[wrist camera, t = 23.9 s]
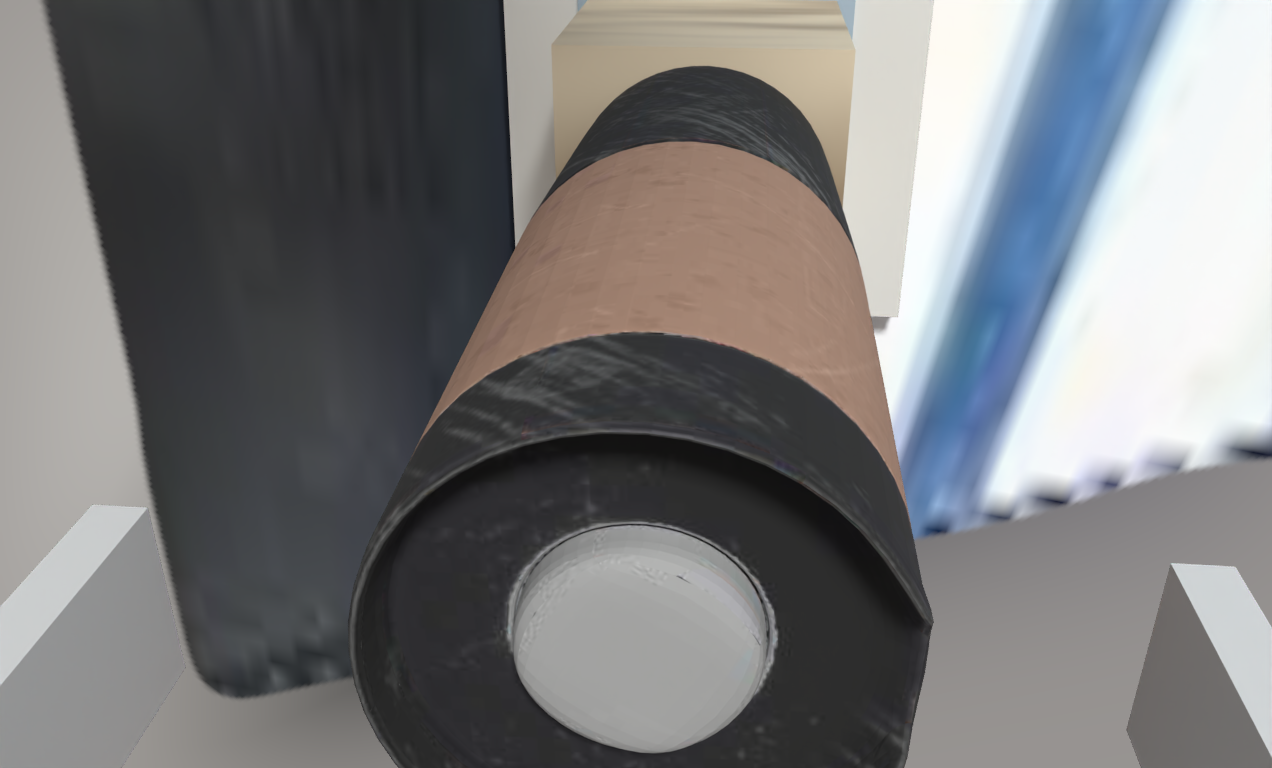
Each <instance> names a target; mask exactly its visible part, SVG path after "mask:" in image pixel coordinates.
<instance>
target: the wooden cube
mask: <svg viewBox="0 0 1272 768" xmlns="http://www.w3.org/2000/svg"><path fill="white" fill-rule="evenodd" d="M551 52H552V81H553V111H554V140H555V170H556V179H557V177H558V176H559V174H560V173H561V171H562V170H563V168H564V167H565V165H566V163H567V162H568V160H569V159H570V157H571V156H572V154H573V153H574V151H575V149H576V148H577V146H578V145H579V143H580V142H581V140H582V139H583V137H584V136H585V134H586V133H587V132H588V130H589V129H590V127H591V126H592V125H593V123H594V122H595V120H596V119H597V118H598V116H599V115H600V114H601V113H602V112H603V111H604V109H605V108H606V107H607V106H608V105H609V104H610V103H611V102H612V101H613V100H614V99H615V98H617V97H618V96H619V95H620V94H621V93H623V92H624V91H625V90H626V89H628V88H630V87H631V86H633V85H635V84H636V83H638V82H640V81H641V80H643V79H646V78H648V77H650V76H653V75H655V74H657V73H660V72H664V71H667V70H671V69H675V68H682V67H689V66H714V67H722V68H728V69H732V70H736V71H740V72H744V73H746V74H748V75H751V76H753V77H756V78H758V79H760V80H762V81H764V82H765V83H767V84H769V85H771V86H772V87H774V88H776V89H777V90H778V91H779V92H781V93H782V94H783V95H785V96H786V97H787V98H788V99H789V100H790V101H791V102H792V103H793V104H794V105H795V106H796V107H797V108H798V109H799V110H800V111H801V112H802V113H803V115H804V116H805V118H806V119H807V120H808V122H809V123H810V124H811V126H812V128H813V130H814V132H815V133H816V135H817V137H818V139H819V141H820V143H821V145H822V148H823V150H824V153H825V156H826V158H827V161H828V164H829V167H830V169H831V172H832V176H833V179H834V182H835V185H836V189H837V192H838V195H839V198H840V201H841V205H842V208H843V197H844V185H845V173H846V161H847V149H848V136H849V124H850V112H851V100H852V88H853V76H854V64H855V52H856V49H855V47H854V44H853V42H852V39H851V36H850V34H849V31H848V28H847V26H846V23H845V21H844V18H843V15H842V13H841V10H840V8H839V5H838V2H837V1H823V0H587V1H586V3H585V4H584V5H583V6H582V8H581V9H580V10H579V11H578V13H577V14H576V15H575V16H574V17H573V19H572V20H571V21H570V22H569V24H568V25H567V26H566V27H565V29H564V30H563V31H562V32H561V33H560V35H559V36H558V37H557V38H556V40H555V41H554V42H553V43H552V45H551Z"/></svg>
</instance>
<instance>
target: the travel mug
mask: <svg viewBox="0 0 1272 768" xmlns="http://www.w3.org/2000/svg"><path fill="white" fill-rule="evenodd" d="M933 623H934V621H933V617H932V612H931V608H930V605H929V603H928V599H927V597H926V594H925V591H924V588H923V585H922V580H921V575H920V570H919V565H918V559H917V555H916V549H915V544H914V539H913V534H912V529H911V523H910V518H909V513H908V508H907V503H906V497H905V492H904V487H903V482H902V476H901V471H900V466H899V461H898V456H897V450H896V445H895V440H894V435H893V430H892V424H891V419H890V414H889V409H888V404H887V398H886V393H885V388H884V383H883V377H882V372H881V367H880V362H879V357H878V351H877V346H876V341H875V336H874V331H873V325H872V320H871V315H870V310H869V305H868V299H867V294H866V289H865V285H864V280H863V276H862V271H861V267H860V264H859V260H858V256H857V253H856V250H855V247H854V243H853V240H852V237H851V234H850V231H849V227H848V224H847V221H846V218H845V214H844V211H843V208H842V205H841V201H840V198H839V195H838V192H837V189H836V185H835V182H834V179H833V176H832V172H831V169H830V167H829V164H828V161H827V158H826V156H825V153H824V150H823V148H822V145H821V143H820V141H819V139H818V137H817V135H816V133H815V132H814V130H813V128H812V126H811V124H810V123H809V122H808V120H807V119H806V118H805V116H804V115H803V113H802V112H801V111H800V110H799V109H798V108H797V107H796V106H795V105H794V104H793V103H792V102H791V101H790V100H789V99H788V98H787V97H786V96H785V95H783V94H782V93H781V92H779V91H778V90H777V89H776V88H774V87H772V86H771V85H769V84H767V83H765V82H764V81H762V80H760V79H758V78H756V77H753V76H751V75H748V74H746V73H744V72H740V71H736V70H732V69H728V68H722V67H714V66H689V67H682V68H675V69H671V70H667V71H664V72H660V73H657V74H655V75H653V76H650V77H648V78H646V79H643V80H641V81H640V82H638V83H636V84H635V85H633V86H631V87H630V88H628V89H626V90H625V91H624V92H623V93H621V94H620V95H619V96H618V97H617V98H615V99H614V100H613V101H612V102H611V103H610V104H609V105H608V106H607V107H606V108H605V109H604V111H603V112H602V113H601V114H600V115H599V116H598V118H597V119H596V120H595V122H594V123H593V125H592V126H591V127H590V129H589V130H588V132H587V133H586V134H585V136H584V137H583V139H582V140H581V142H580V143H579V145H578V146H577V148H576V149H575V151H574V153H573V154H572V156H571V157H570V159H569V160H568V162H567V163H566V165H565V167H564V168H563V170H562V171H561V173H560V174H559V176H558V177H557V179H556V181H555V182H554V184H553V185H552V187H551V188H550V190H549V191H548V193H547V195H546V196H545V198H544V199H543V201H542V202H541V204H540V206H539V207H538V209H537V210H536V212H535V213H534V215H533V216H532V218H531V220H530V222H529V223H528V225H527V227H526V229H525V231H524V232H523V234H522V236H521V238H520V240H519V242H518V244H517V246H516V248H515V250H514V252H513V254H512V256H511V258H510V260H509V262H508V264H507V266H506V268H505V270H504V272H503V274H502V276H501V278H500V280H499V282H498V284H497V286H496V288H495V290H494V292H493V294H492V296H491V298H490V300H489V302H488V304H487V306H486V308H485V310H484V312H483V314H482V316H481V318H480V320H479V322H478V324H477V326H476V328H475V330H474V332H473V334H472V336H471V338H470V340H469V342H468V344H467V346H466V348H465V350H464V352H463V354H462V356H461V358H460V360H459V362H458V364H457V366H456V368H455V370H454V372H453V374H452V376H451V379H450V381H449V383H448V385H447V387H446V389H445V391H444V393H443V395H442V397H441V399H440V401H439V403H438V405H437V407H436V409H435V411H434V413H433V415H432V417H431V419H430V421H429V423H428V425H427V427H426V429H425V431H424V433H423V435H422V437H421V439H420V441H419V443H418V445H417V447H416V449H415V451H414V453H413V455H412V457H411V459H410V461H409V463H408V465H407V467H406V469H405V471H404V473H403V475H402V477H401V479H400V481H399V483H398V485H397V487H396V489H395V491H394V493H393V495H392V497H391V499H390V501H389V503H388V505H387V507H386V509H385V511H384V513H383V515H382V517H381V519H380V521H379V523H378V525H377V527H376V529H375V531H374V533H373V535H372V537H371V539H370V541H369V543H368V545H367V548H366V551H365V553H364V556H363V559H362V562H361V565H360V568H359V571H358V574H357V577H356V580H355V583H354V587H353V592H352V599H351V605H350V612H349V619H348V642H349V656H350V661H351V667H352V673H353V678H354V683H355V687H356V689H357V693H358V695H359V698H360V701H361V704H362V707H363V710H364V712H365V715H366V717H367V719H368V721H369V722H370V724H371V726H372V728H373V730H374V732H375V734H376V736H377V738H378V740H379V741H380V743H381V744H382V746H383V747H384V748H385V750H386V751H387V753H388V754H389V756H390V757H391V759H392V760H393V761H394V763H395V764H396V765H397V766H398V768H904V766H905V763H906V760H907V756H908V751H909V745H910V739H911V732H912V726H913V721H914V717H915V713H916V708H917V703H918V699H919V695H920V691H921V687H922V682H923V678H924V673H925V668H926V661H927V655H928V647H929V639H930V634H931V629H932V626H933Z"/></svg>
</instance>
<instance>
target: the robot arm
mask: <svg viewBox="0 0 1272 768" xmlns="http://www.w3.org/2000/svg"><path fill="white" fill-rule="evenodd" d="M184 669H185V663H184V659H183V654H182V650H181V646H180V642H179V637H178V633H177V629H176V625H175V620H174V616H173V612H172V608H171V603H170V599H169V595H168V591H167V587H166V582H165V578H164V574H163V570H162V565H161V561H160V557H159V553H158V548H157V544H156V540H155V536H154V532H153V528H152V523H151V519H150V515H149V510H148V508H147V507H128V506H110V505H92V506H91V507H90V508H89V509H88V510H87V511H86V512H85V513H84V515H83V516H82V517H81V518H80V519H79V520H78V521H77V522H76V523H75V524H74V526H73V527H72V528H71V529H70V530H69V531H68V532H67V533H66V534H65V536H64V537H63V538H62V539H61V540H60V541H59V542H58V543H57V544H56V545H55V547H54V548H53V549H52V550H51V551H50V552H49V553H48V554H47V555H46V556H45V558H44V559H43V560H42V561H41V562H40V563H39V564H38V565H37V567H36V568H35V569H34V570H33V571H32V572H31V573H30V574H29V575H28V576H27V578H25V580H24V581H23V582H22V583H21V584H20V585H19V586H18V587H17V589H15V591H14V592H13V593H12V594H11V595H10V596H9V597H8V599H6V600H5V602H4V603H3V604H2V605H1V606H0V768H122V766H123V765H124V763H125V762H126V760H127V758H128V757H129V755H130V754H131V752H132V751H133V749H134V747H135V746H136V744H137V743H138V741H139V740H140V738H141V737H142V735H143V733H144V732H145V730H146V729H147V727H148V725H149V724H150V722H151V721H152V719H153V718H154V716H155V715H156V713H157V712H158V710H159V708H160V706H161V705H162V704H163V702H164V700H165V699H166V697H167V696H168V694H169V693H170V691H171V690H172V688H173V686H174V685H175V683H176V682H177V680H178V679H179V677H180V675H181V674H182V672H183V671H184ZM1127 732H1128V735H1129V738H1130V740H1131V743H1132V745H1133V748H1134V750H1135V753H1136V756H1137V758H1138V761H1139V764H1140V766H1141V768H1272V627H1271V626H1270V624H1269V622H1268V621H1267V619H1266V617H1265V616H1264V614H1263V612H1262V611H1261V609H1260V608H1259V606H1258V604H1257V602H1256V601H1255V599H1254V597H1253V596H1252V594H1251V592H1250V591H1249V589H1248V587H1247V586H1246V584H1245V582H1244V581H1243V579H1242V577H1241V576H1240V574H1239V572H1238V571H1237V569H1236V567H1230V566H1212V565H1193V564H1174V563H1171V565H1170V568H1169V572H1168V576H1167V579H1166V583H1165V587H1164V591H1163V594H1162V598H1161V602H1160V606H1159V609H1158V613H1157V617H1156V621H1155V624H1154V628H1153V632H1152V636H1151V640H1150V643H1149V647H1148V651H1147V655H1146V658H1145V662H1144V666H1143V670H1142V673H1141V677H1140V681H1139V685H1138V689H1137V692H1136V696H1135V700H1134V703H1133V707H1132V711H1131V714H1130V718H1129V722H1128V726H1127Z"/></svg>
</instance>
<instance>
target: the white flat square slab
mask: <svg viewBox="0 0 1272 768" xmlns="http://www.w3.org/2000/svg"><path fill="white" fill-rule="evenodd" d="M586 1H587V0H504V21H505V41H506V62H507V82H508V103H509V124H510V144H511V165H512V185H513V206H514V227H515V247H516V246H517V244H518V242H519V240H520V238H521V236H522V234H523V232H524V231H525V229H526V227H527V225H528V223H529V222H530V220H531V218H532V216H533V215H534V213H535V212H536V210H537V209H538V207H539V206H540V204H541V202H542V201H543V199H544V198H545V196H546V195H547V193H548V191H549V190H550V188H551V187H552V185H553V184H554V182H555V181H556V170H555V140H554V111H553V81H552V52H551V45H552V43H553V42H554V41H555V40H556V38H557V37H558V36H559V35H560V33H561V32H562V31H563V30H564V29H565V27H566V26H567V25H568V24H569V22H570V21H571V20H572V19H573V17H574V16H575V15H576V14H577V13H578V11H579V10H580V9H581V8H582V6H583V5H584V4H585V3H586ZM823 1H837V2H838V5H839V8H840V10H841V13H842V15H843V18H844V21H845V23H846V26H847V28H848V31H849V34H850V36H851V39H852V42H853V44H854V47H855V49H856V52H855V64H854V76H853V88H852V100H851V112H850V124H849V136H848V149H847V161H846V173H845V185H844V197H843V211H844V214H845V218H846V221H847V224H848V227H849V231H850V234H851V237H852V240H853V243H854V247H855V250H856V253H857V256H858V260H859V264H860V267H861V271H862V276H863V280H864V285H865V289H866V294H867V299H868V305H869V310H870V315H871V316H879V317H898V312H899V303H900V295H901V286H902V277H903V268H904V260H905V251H906V242H907V233H908V224H909V216H910V207H911V198H912V189H913V180H914V172H915V163H916V154H917V145H918V137H919V128H920V119H921V110H922V101H923V93H924V84H925V75H926V66H927V58H928V49H929V40H930V31H931V22H932V14H933V5H934V0H823Z"/></svg>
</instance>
